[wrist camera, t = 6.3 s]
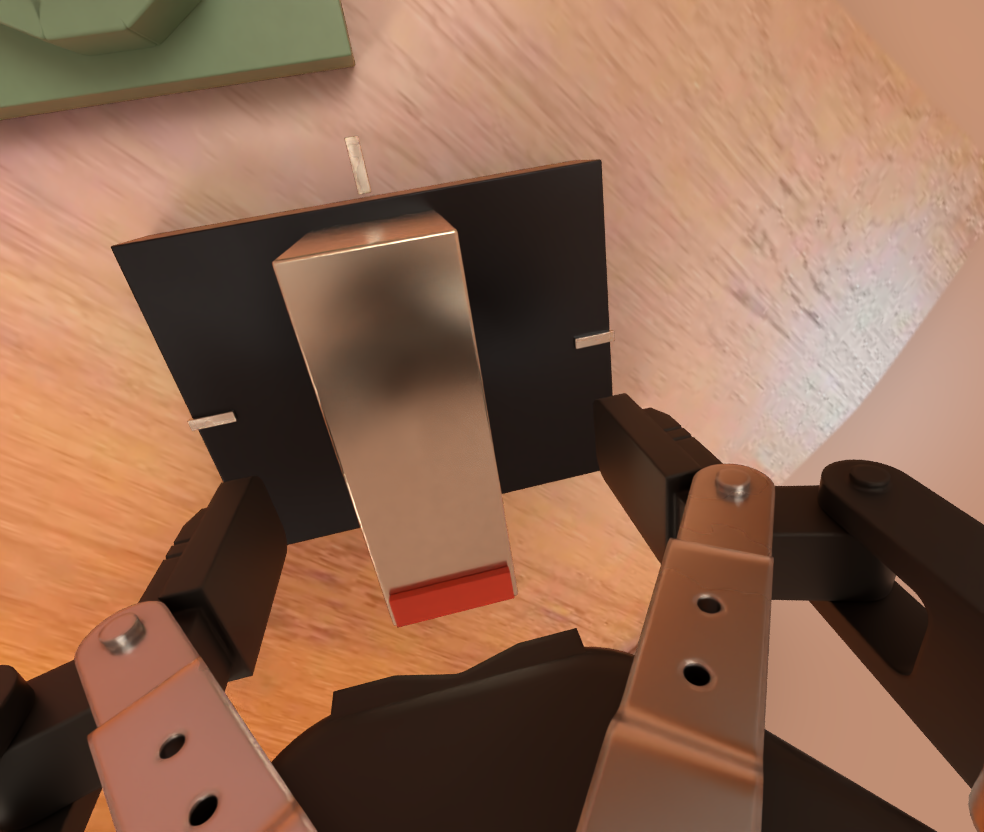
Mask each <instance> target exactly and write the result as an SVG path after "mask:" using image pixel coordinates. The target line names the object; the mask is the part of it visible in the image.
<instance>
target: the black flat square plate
mask: <svg viewBox="0 0 984 832" xmlns="http://www.w3.org/2000/svg"><path fill="white" fill-rule="evenodd" d="M345 143H346V147H347V151H348V155H349V159H350V163H351V166H352V170H353V174H354V178H355V182H356V186H357V190H358V194H364V193H370V192H371V188H370V184H369V180H368V175H367V171H366V167H365V163H364V159H363V155H362V150H361V146H360V142H359V138H358V136H353V137H347V138H345ZM430 209H433V210H435V211H436V212H437V213H438V214H440V215H441V216H442V217H443V218H444V219H445V220H446V221H447V222H449V223H450V224H451V225H452V226H453V227H454V228H455V229H456V230H457V231H458V236H459V242H460V248H461V254H462V260H463V266H464V272H465V278H466V284H467V290H468V296H469V302H470V308H471V314H472V320H473V326H474V332H475V338H476V344H477V350H478V356H479V362H480V368H481V374H482V380H483V386H484V392H485V398H486V404H487V410H488V416H489V422H490V428H491V434H492V440H493V446H494V452H495V457H496V463H497V469H498V475H499V481H500V487H501V493H502V494H504V493H508V492H512V491H516V490H520V489H525V488H529V487H533V486H537V485H541V484H546V483H550V482H554V481H558V480H562V479H567V478H571V477H575V476H579V475H583V474H588V473H592V472H596V471H600V469H599V465H598V461H597V455H596V442H595V429H594V415H593V403H594V401H595V400H596V399H601V398H605V397H610V396H612V375H611V353H610V342H611V341H615V335H614V331H613V330H610V331H609V311H608V289H607V268H606V247H605V226H604V204H603V183H602V162H601V160H600V159H598V160H574V161H568V162H562V163H557V164H551V165H545V166H540V167H534V168H528V169H523V170H517V171H511V172H506V173H500V174H494V175H489V176H483V177H477V178H472V179H466V180H460V181H455V182H449V183H443V184H438V185H432V186H426V187H421V188H415V189H409V190H404V191H398V192H392V193H387V194H381V195H375V196H370V197H364V198H358V199H353V200H347V201H341V202H336V203H330V204H324V205H319V206H313V207H307V208H302V209H296V210H290V211H285V212H279V213H273V214H268V215H262V216H256V217H251V218H245V219H239V220H234V221H228V222H222V223H217V224H211V225H205V226H200V227H194V228H188V229H183V230H177V231H171V232H166V233H160V234H154V235H149V236H145V237H142V238H138V239H134V240H131V241H127V242H124V243H120V244H117V245H113V246H111V249H112V251H113V253H114V255H115V257H116V259H117V261H118V263H119V266H120V268H121V270H122V272H123V274H124V276H125V278H126V280H127V282H128V284H129V286H130V288H131V291H132V293H133V295H134V297H135V299H136V301H137V303H138V305H139V307H140V309H141V311H142V313H143V316H144V318H145V320H146V322H147V324H148V326H149V328H150V330H151V332H152V334H153V336H154V338H155V341H156V343H157V345H158V347H159V349H160V351H161V353H162V355H163V357H164V359H165V361H166V363H167V366H168V368H169V370H170V372H171V374H172V376H173V378H174V380H175V382H176V384H177V386H178V388H179V391H180V393H181V395H182V397H183V399H184V401H185V403H186V405H187V407H188V409H189V411H190V413H191V415H192V418H193V419H189V420H188V423H189V426H190V428H191V430H192V431H194V430H199V432H200V434H201V436H202V438H203V440H204V443H205V445H206V447H207V449H208V451H209V453H210V455H211V457H212V459H213V461H214V463H215V465H216V468H217V470H218V472H219V474H220V476H221V478H222V480H223V482H228V481H232V480H236V479H241V478H245V477H250V476H254V475H257V476H259V477H260V478H261V479H262V481H263V483H264V485H265V487H266V489H267V491H268V494H269V496H270V498H271V500H272V503H273V505H274V507H275V509H276V512H277V514H278V516H279V518H280V521H281V523H282V525H283V527H284V530H285V534H286V539H287V545H289V544H293V543H298V542H302V541H306V540H310V539H314V538H319V537H323V536H327V535H331V534H335V533H340V532H344V531H348V530H352V529H357V528H361V527H360V524H359V521H358V518H357V516H356V513H355V510H354V507H353V504H352V501H351V498H350V495H349V492H348V489H347V486H346V483H345V480H344V477H343V474H342V471H341V468H340V465H339V462H338V459H337V456H336V453H335V450H334V447H333V444H332V441H331V438H330V435H329V432H328V429H327V426H326V423H325V421H324V418H323V415H322V412H321V409H320V406H319V403H318V400H317V397H316V394H315V391H314V388H313V385H312V382H311V379H310V376H309V373H308V370H307V367H306V364H305V361H304V358H303V355H302V352H301V349H300V346H299V343H298V340H297V337H296V334H295V331H294V328H293V326H292V323H291V320H290V317H289V314H288V311H287V308H286V305H285V302H284V299H283V296H282V293H281V290H280V287H279V284H278V281H277V278H276V275H275V272H274V269H273V266H272V262H273V261H274V260H275V259H277V258H278V257H279V256H280V255H282V254H283V253H284V252H285V251H286V250H288V249H289V248H290V247H291V246H293V245H294V244H295V243H296V242H297V241H299V240H300V239H301V238H302V237H304V236H305V235H306V234H307V233H309V232H310V231H311V230H315V229H321V228H326V227H332V226H338V225H344V224H349V223H355V222H361V221H367V220H373V219H378V218H384V217H390V216H396V215H401V214H407V213H413V212H419V211H425V210H430Z"/></svg>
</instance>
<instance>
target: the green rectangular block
mask: <svg viewBox="0 0 984 832" xmlns="http://www.w3.org/2000/svg"><path fill="white" fill-rule="evenodd" d="M354 66H355V61H354V57H353V53H352V48H351V44H350V40H349V35H348V31H347V26H346V22H345V18H344V13H343V9H342V5H341V0H0V120H4V119H11V118H17V117H24V116H31V115H37V114H44V113H50V112H57V111H64V110H70V109H77V108H83V107H90V106H97V105H103V104H110V103H116V102H123V101H130V100H136V99H143V98H149V97H156V96H163V95H169V94H176V93H182V92H189V91H195V90H202V89H209V88H215V87H222V86H228V85H235V84H242V83H248V82H255V81H261V80H268V79H275V78H281V77H288V76H294V75H301V74H308V73H314V72H321V71H327V70H334V69H341V68H347V67H354Z"/></svg>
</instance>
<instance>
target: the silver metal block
mask: <svg viewBox="0 0 984 832" xmlns="http://www.w3.org/2000/svg"><path fill="white" fill-rule="evenodd" d="M272 266H273V269H274V272H275V275H276V278H277V281H278V284H279V287H280V290H281V293H282V296H283V299H284V302H285V305H286V308H287V311H288V314H289V317H290V320H291V323H292V326H293V328H294V331H295V334H296V337H297V340H298V343H299V346H300V349H301V352H302V355H303V358H304V361H305V364H306V367H307V370H308V373H309V376H310V379H311V382H312V385H313V388H314V391H315V394H316V397H317V400H318V403H319V406H320V409H321V412H322V415H323V418H324V421H325V423H326V426H327V429H328V432H329V435H330V438H331V441H332V444H333V447H334V450H335V453H336V456H337V459H338V462H339V465H340V468H341V471H342V474H343V477H344V480H345V483H346V486H347V489H348V492H349V495H350V498H351V501H352V504H353V507H354V510H355V513H356V516H357V518H358V521H359V524H360V527H361V530H362V533H363V536H364V539H365V542H366V545H367V548H368V551H369V554H370V557H371V560H372V563H373V566H374V569H375V572H376V575H377V578H378V581H379V584H380V587H381V590H382V593H383V596H384V599H385V602H386V605H387V608H388V611H389V614H390V616H391V619H392V622H393V625H394V626H397V627H402V626H406V625H410V624H414V623H418V622H421V621H425V620H429V619H433V618H437V617H441V616H445V615H449V614H453V613H457V612H461V611H465V610H469V609H473V608H477V607H481V606H485V605H489V604H493V603H497V602H500V601H504V600H508V599H512V598H514V596H515V595H517V594H518V589H517V583H516V577H515V571H514V565H513V559H512V553H511V547H510V541H509V535H508V529H507V523H506V517H505V511H504V505H503V499H502V493H501V487H500V481H499V475H498V469H497V463H496V457H495V452H494V446H493V440H492V434H491V428H490V422H489V416H488V410H487V404H486V398H485V392H484V386H483V380H482V374H481V368H480V362H479V356H478V350H477V344H476V338H475V332H474V326H473V320H472V314H471V308H470V302H469V296H468V290H467V284H466V278H465V272H464V266H463V260H462V254H461V248H460V242H459V236H458V231H457V230H456V229H455V228H454V227H453V226H452V225H451V224H450V223H449V222H447V221H446V220H445V219H444V218H443V217H442V216H441V215H440V214H438V213H437V212H436V211H435V210H433V209H430V210H425V211H419V212H413V213H407V214H401V215H396V216H390V217H384V218H378V219H373V220H367V221H361V222H355V223H349V224H344V225H338V226H332V227H326V228H321V229H315V230H311V231H310V232H309V233H307V234H306V235H305V236H304V237H302V238H301V239H300V240H299V241H297V242H296V243H295V244H294V245H293V246H291V247H290V248H289V249H288V250H286V251H285V252H284V253H283V254H282V255H280V256H279V257H278V258H277V259H275V260H274V261H273V262H272Z"/></svg>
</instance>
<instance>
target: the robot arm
mask: <svg viewBox="0 0 984 832" xmlns="http://www.w3.org/2000/svg"><path fill="white" fill-rule="evenodd" d="M593 415H594V429H595V442H596V455H597V461H598V465H599V469H600V472H601V474H602V476H603V478H604V480H605V482H606V483H607V484H608V486H609V487H610V489H611V490H612V492H613V493H614V495H615V496H616V498H617V499H618V501H619V502H620V504H621V505H622V507H623V508H624V510H625V511H626V513H627V514H628V516H629V517H630V519H631V520H632V522H633V523H634V525H635V526H636V528H637V529H638V531H639V532H640V534H641V535H642V537H643V538H644V540H645V541H646V543H647V544H648V546H649V547H650V549H651V550H652V552H653V553H654V554H655V556H656V557H657V559H658V560H659V562H660V563H661V567H660V570H659V574H658V577H657V581H656V584H655V588H654V591H653V594H652V598H651V601H650V605H649V608H648V612H647V615H646V618H645V622H644V625H643V629H642V632H641V636H640V639H639V642H638V646H637V649H636V653H635V655H633V654H630V653H627V652H624V651H619V650H614V649H610V648H601V647H584V646H583V643H582V641H581V638H580V636H579V633H578V631H577V628H575V629H571V630H567V631H563V632H560V633H556V634H552V635H548V636H544V637H540V638H537V639H533V640H529V641H525V642H521V643H518V644H516V645H514V646H512V647H510V648H508V649H507V650H505V651H503V652H501V653H499V654H497V655H495V656H493V657H491V658H489V659H487V660H485V661H484V662H482V663H480V664H478V665H476V666H474V667H472V668H470V669H468V670H466V671H464V672H462V673H458V674H444V675H397V676H391V677H388V678H384V679H380V680H376V681H372V682H368V683H365V684H361V685H357V686H353V687H349V688H345V689H342V690H338V691H334V692H333V701H332V709H331V715H329V716H327V717H326V718H324V719H322V720H321V721H319V722H318V723H316V724H314V725H313V726H311V727H310V728H308V729H307V730H306V731H305V732H303V733H302V734H301V735H299V736H298V737H297V738H296V739H294V740H293V741H292V742H291V743H290V744H289V745H288V746H287V747H286V748H285V749H283V750H282V751H281V752H280V753H279V754H278V756H277V757H276V758H275V759H274V760H273V761H272V762H270V760H269V759H268V757H267V756H266V754H265V753H264V751H263V750H262V748H261V747H260V745H259V744H258V742H257V741H256V739H255V738H254V736H253V735H252V733H251V732H250V730H249V729H248V727H247V726H246V724H245V723H244V721H243V720H242V718H241V717H240V715H239V714H238V712H237V710H236V709H235V707H234V706H233V704H232V703H231V701H230V700H229V698H228V697H227V695H226V694H225V689H226V686H227V683H228V682H229V681H233V680H237V679H241V678H245V677H249V676H253V672H254V668H255V665H256V661H257V658H258V654H259V650H260V647H261V643H262V640H263V636H264V633H265V629H266V625H267V622H268V618H269V615H270V611H271V607H272V604H273V600H274V597H275V593H276V590H277V586H278V582H279V579H280V575H281V572H282V568H283V564H284V561H285V557H286V553H287V539H286V534H285V530H284V527H283V525H282V523H281V521H280V518H279V516H278V514H277V512H276V509H275V507H274V505H273V503H272V500H271V498H270V496H269V494H268V491H267V489H266V487H265V485H264V483H263V481H262V479H261V478H260V477H259V476H257V475H254V476H250V477H245V478H241V479H236V480H232V481H228V482H223V483H221V484H220V486H219V487H218V489H217V491H216V493H215V494H214V496H213V498H212V500H211V502H210V504H209V505H208V507H207V508H204V509H201V510H200V511H199V512H198V513H197V514H196V515H195V516H194V517H192V518H191V519H190V520H189V521H188V522H187V523H186V524H185V525H184V526H183V528H182V529H181V531H180V533H179V534H178V536H177V538H176V539H175V541H174V546H171V548H170V550H169V551H168V553H167V555H166V560H163V562H162V563H161V565H160V567H159V568H158V570H157V572H156V574H155V575H154V577H153V579H152V580H151V582H150V584H149V585H148V587H147V589H146V591H145V592H144V594H143V596H142V597H141V599H140V601H139V602H138V603H137V604H134V605H131V606H129V607H127V608H124V609H122V610H120V611H118V612H117V613H115V614H113V615H111V616H110V617H108V618H107V619H105V620H104V621H103V622H101V623H100V624H99V625H98V626H96V627H95V628H94V629H93V630H92V631H91V632H90V633H89V634H88V635H87V636H86V637H85V638H84V640H83V641H82V642H81V644H80V645H79V647H78V649H77V651H76V653H75V658H74V660H73V661H70V662H68V663H66V664H64V665H62V666H59V667H57V668H55V669H53V670H51V671H48V672H46V673H44V674H42V675H40V676H38V677H35V678H33V679H31V680H29V681H27V682H26V681H25V680H24V679H23V678H22V677H21V675H20V674H19V673H18V672H17V671H16V670H15V669H14V668H13V667H11V666H9V665H0V832H84V830H85V828H86V825H87V823H88V821H89V818H90V816H91V814H92V811H93V809H94V806H95V804H96V802H97V799H98V797H99V794H100V792H101V790H102V788H103V791H104V794H105V798H106V801H107V804H108V807H109V810H110V813H111V816H112V819H113V823H114V826H115V829H116V832H937V831H935V830H934V829H932V828H930V827H928V826H927V825H925V824H923V823H922V822H920V821H918V820H917V819H915V818H913V817H912V816H910V815H908V814H907V813H905V812H903V811H902V810H900V809H898V808H897V807H895V806H893V805H891V804H890V803H888V802H886V801H885V800H883V799H881V798H880V797H878V796H876V795H875V794H873V793H871V792H870V791H868V790H866V789H865V788H863V787H861V786H860V785H858V784H856V783H854V782H853V781H851V780H849V779H848V778H846V777H844V776H843V775H841V774H839V773H838V772H836V771H834V770H833V769H831V768H829V767H827V766H826V765H824V764H823V763H821V762H819V761H817V760H816V759H814V758H812V757H811V756H809V755H807V754H806V753H804V752H802V751H801V750H799V749H797V748H795V747H794V746H792V745H791V744H789V743H787V742H786V741H784V740H782V739H781V738H779V737H777V736H776V735H774V734H772V733H771V732H769V731H767V730H765V709H766V692H767V673H768V654H769V634H770V616H771V600H808V601H810V603H811V604H812V605H813V606H814V607H815V608H816V610H817V611H818V612H819V613H820V614H821V615H822V616H823V618H824V619H825V620H826V621H827V622H828V623H829V625H830V626H831V627H832V628H833V629H834V630H835V632H836V633H837V634H838V635H839V636H840V637H841V638H842V640H844V642H845V643H846V644H847V645H848V647H849V648H850V649H851V650H852V651H853V652H854V653H855V655H856V656H857V657H858V658H859V659H860V660H861V662H862V663H863V664H864V665H865V666H866V667H867V669H869V671H870V672H871V673H872V674H873V676H874V677H875V678H876V679H877V680H878V681H879V682H880V684H881V685H882V686H883V687H884V688H885V689H886V691H887V692H888V693H889V694H890V695H891V696H892V698H893V699H894V700H895V701H896V702H897V703H898V704H899V705H900V707H901V708H902V709H903V710H904V711H905V712H906V714H907V715H908V716H909V717H910V718H911V719H912V721H913V722H914V723H915V724H916V725H917V726H918V727H919V729H920V730H921V731H922V732H923V733H924V735H925V736H926V737H927V738H928V739H929V740H930V741H931V743H932V744H933V745H934V746H935V747H936V748H937V750H938V751H939V752H940V753H941V754H942V755H943V757H944V758H945V759H946V760H947V761H948V762H949V763H950V765H951V766H952V767H953V768H954V769H955V770H956V771H957V773H958V774H959V775H960V776H961V777H962V778H963V779H964V781H965V782H966V783H967V784H968V785H969V787H970V788H971V792H970V795H969V810H970V816H971V818H972V821H973V824H974V826H975V828H976V830H977V832H984V525H983V524H982V523H980V522H979V521H977V520H976V519H974V518H973V517H971V516H969V515H968V514H967V513H965V512H963V511H962V510H960V509H959V508H957V507H956V506H954V505H953V504H951V503H950V502H948V501H947V500H945V499H944V498H942V497H941V496H939V495H937V494H936V493H935V492H933V491H931V490H930V489H928V488H927V487H925V486H924V485H922V484H921V483H919V482H918V481H916V480H915V479H913V478H912V477H910V476H909V475H907V474H905V473H904V472H902V471H900V470H898V469H896V468H894V467H891V466H888V465H885V464H882V463H878V462H873V461H866V460H844V461H838V462H834V463H832V464H829V465H828V466H826V467H825V468H824V469H823V472H822V474H821V480H820V485H817V486H774V484H773V482H772V481H771V479H770V478H769V477H767V476H766V475H765V474H763V473H762V472H760V471H758V470H756V469H753V468H750V467H747V466H743V465H737V464H723V463H722V462H721V461H720V460H718V459H717V458H716V457H715V456H714V455H713V454H712V453H711V452H710V451H709V450H707V449H706V448H705V447H704V446H703V445H702V444H701V443H700V442H699V441H697V440H696V439H695V438H694V437H691V434H690V433H689V432H687V431H686V430H685V429H684V428H681V425H680V424H679V423H677V422H676V421H675V420H674V419H673V418H672V417H671V416H670V415H668V414H665V413H663V412H660V411H658V410H655V409H653V408H647V409H642V408H641V407H639V406H638V405H637V404H636V403H635V402H634V401H633V400H632V399H631V398H630V397H629V396H628V395H627V394H625V393H623V394H619V395H614V396H610V397H605V398H601V399H596V400H595V401H594V403H593ZM896 575H897V576H898V577H899V578H900V579H901V580H902V581H903V582H904V583H906V584H907V585H908V586H909V587H910V588H911V589H912V590H913V591H914V592H916V594H917V595H918V596H919V598H920V599H921V600H922V602H923V604H924V606H925V607H923V606H922V605H921V604H920V603H919V602H918V601H917V600H916V599H915V598H913V597H912V596H911V595H910V594H909V593H908V592H907V591H906V590H904V589H903V588H902V587H901V586H900V585H899V584H898V583H897V582H896V581H895V577H896Z"/></svg>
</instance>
